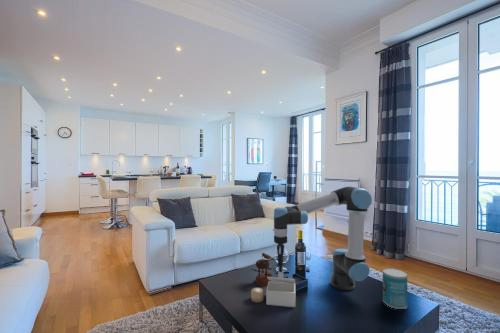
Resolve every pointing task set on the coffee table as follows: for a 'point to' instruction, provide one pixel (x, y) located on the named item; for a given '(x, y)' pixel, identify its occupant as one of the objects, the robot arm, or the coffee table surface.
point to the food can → (395, 288)
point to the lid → (281, 279)
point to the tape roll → (257, 295)
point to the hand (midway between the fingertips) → (280, 276)
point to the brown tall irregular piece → (263, 264)
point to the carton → (280, 294)
